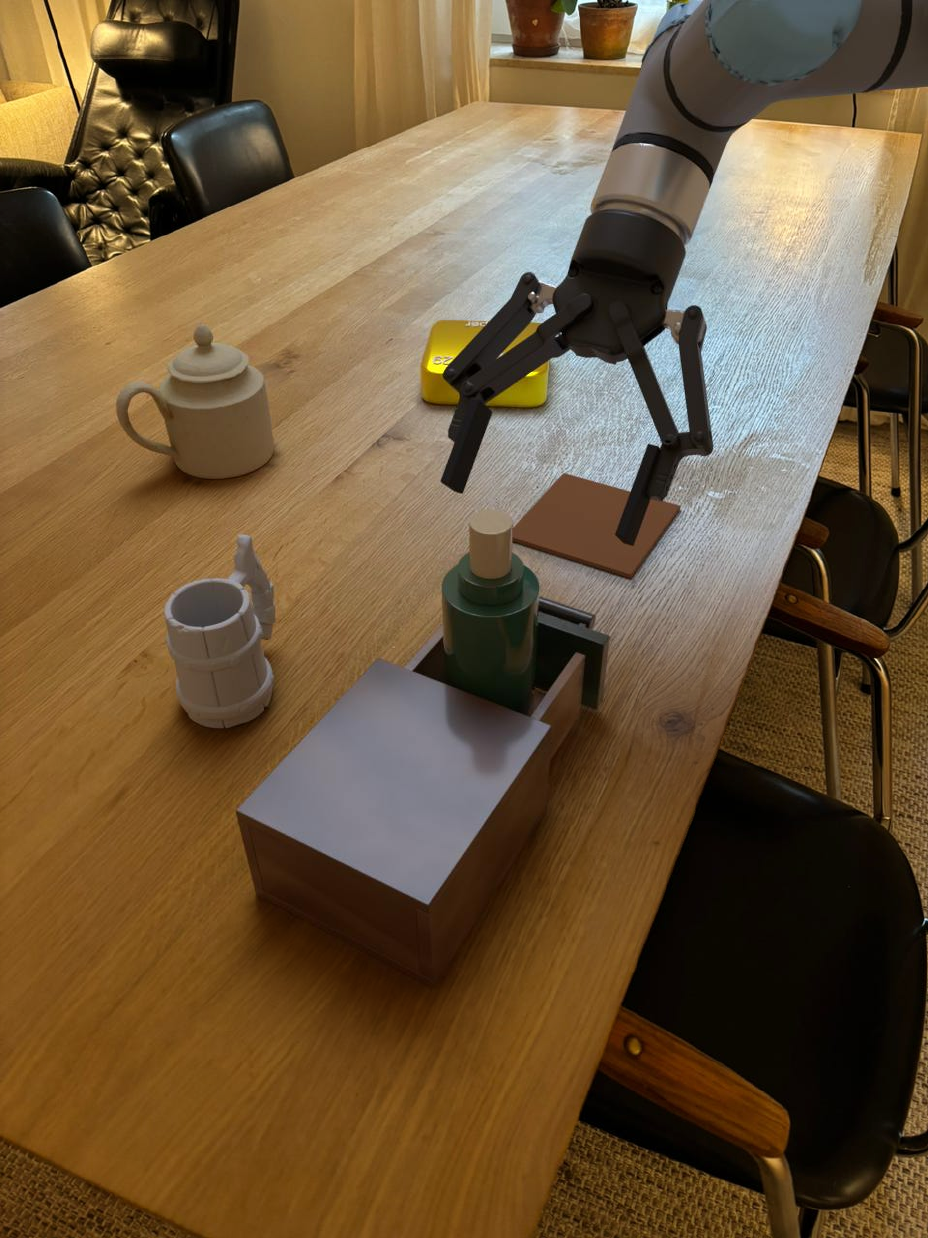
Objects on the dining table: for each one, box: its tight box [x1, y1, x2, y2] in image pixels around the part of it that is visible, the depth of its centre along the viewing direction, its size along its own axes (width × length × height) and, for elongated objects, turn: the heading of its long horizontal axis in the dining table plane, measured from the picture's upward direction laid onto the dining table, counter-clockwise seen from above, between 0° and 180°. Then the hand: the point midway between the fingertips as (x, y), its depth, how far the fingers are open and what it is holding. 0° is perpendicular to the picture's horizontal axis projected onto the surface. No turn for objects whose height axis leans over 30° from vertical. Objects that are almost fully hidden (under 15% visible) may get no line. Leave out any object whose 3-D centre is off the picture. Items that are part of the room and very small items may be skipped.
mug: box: [163, 534, 276, 729], centre depth 78 cm, size 8×12×12 cm, turn 159°
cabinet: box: [235, 657, 552, 989], centre depth 66 cm, size 16×14×9 cm
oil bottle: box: [441, 509, 541, 717], centre depth 69 cm, size 7×7×18 cm
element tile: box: [419, 319, 550, 409], centre depth 121 cm, size 15×15×5 cm
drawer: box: [402, 595, 611, 761], centre depth 75 cm, size 19×13×7 cm
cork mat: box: [512, 472, 681, 579], centre depth 98 cm, size 13×13×1 cm
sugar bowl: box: [115, 322, 275, 480], centre depth 103 cm, size 15×11×15 cm
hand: (534, 513), depth 70 cm, fingers open, 13 cm apart
